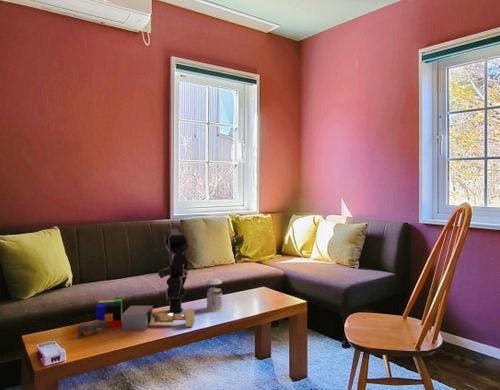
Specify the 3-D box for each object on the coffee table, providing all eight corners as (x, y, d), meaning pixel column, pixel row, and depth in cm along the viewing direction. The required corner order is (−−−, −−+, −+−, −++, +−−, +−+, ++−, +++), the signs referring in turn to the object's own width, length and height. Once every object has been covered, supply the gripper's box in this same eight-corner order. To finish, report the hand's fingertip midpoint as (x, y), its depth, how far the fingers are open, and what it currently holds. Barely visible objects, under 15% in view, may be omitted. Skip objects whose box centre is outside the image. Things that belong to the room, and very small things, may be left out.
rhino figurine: (112, 332, 168) (112, 318, 168) (77, 339, 161) (77, 325, 160) (109, 329, 172) (109, 315, 172) (75, 336, 164) (75, 322, 164)
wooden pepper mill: (157, 321, 179) (156, 308, 179) (194, 321, 179) (194, 308, 179) (153, 326, 173) (153, 313, 173) (192, 326, 173) (192, 312, 173)
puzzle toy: (96, 330, 171) (96, 307, 171) (99, 322, 181) (98, 300, 180) (121, 327, 174) (120, 305, 174) (122, 320, 183) (121, 298, 183)
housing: (131, 320, 182) (130, 305, 182) (152, 320, 182) (152, 305, 182) (122, 330, 170) (122, 314, 170) (145, 330, 170) (145, 314, 170)
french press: (225, 306, 203) (225, 258, 202) (222, 313, 192) (221, 262, 191) (207, 305, 204) (206, 257, 203) (202, 313, 193) (201, 262, 192)
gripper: (164, 257, 190) (164, 290, 190) (154, 265, 171) (155, 301, 171) (187, 257, 190) (187, 290, 190) (180, 265, 171) (180, 301, 171)
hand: (177, 295), depth 181 cm, fingers open, 9 cm apart
